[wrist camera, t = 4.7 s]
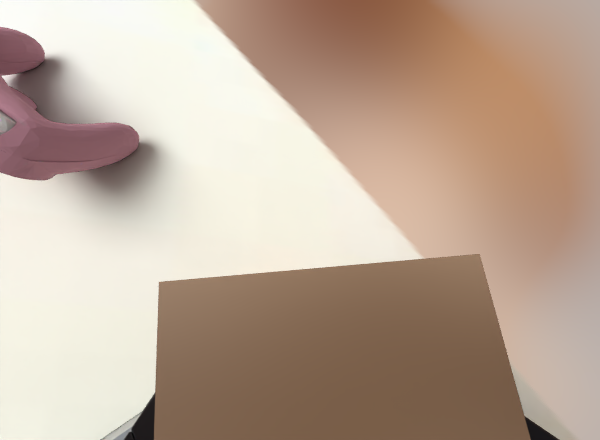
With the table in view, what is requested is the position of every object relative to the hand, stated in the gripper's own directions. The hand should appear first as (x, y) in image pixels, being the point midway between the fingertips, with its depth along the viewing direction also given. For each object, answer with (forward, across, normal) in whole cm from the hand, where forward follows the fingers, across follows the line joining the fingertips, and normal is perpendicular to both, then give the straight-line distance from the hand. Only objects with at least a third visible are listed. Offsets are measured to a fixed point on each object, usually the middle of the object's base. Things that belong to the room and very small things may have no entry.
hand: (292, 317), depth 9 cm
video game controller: (+13, +12, -4) cm, 18 cm away
